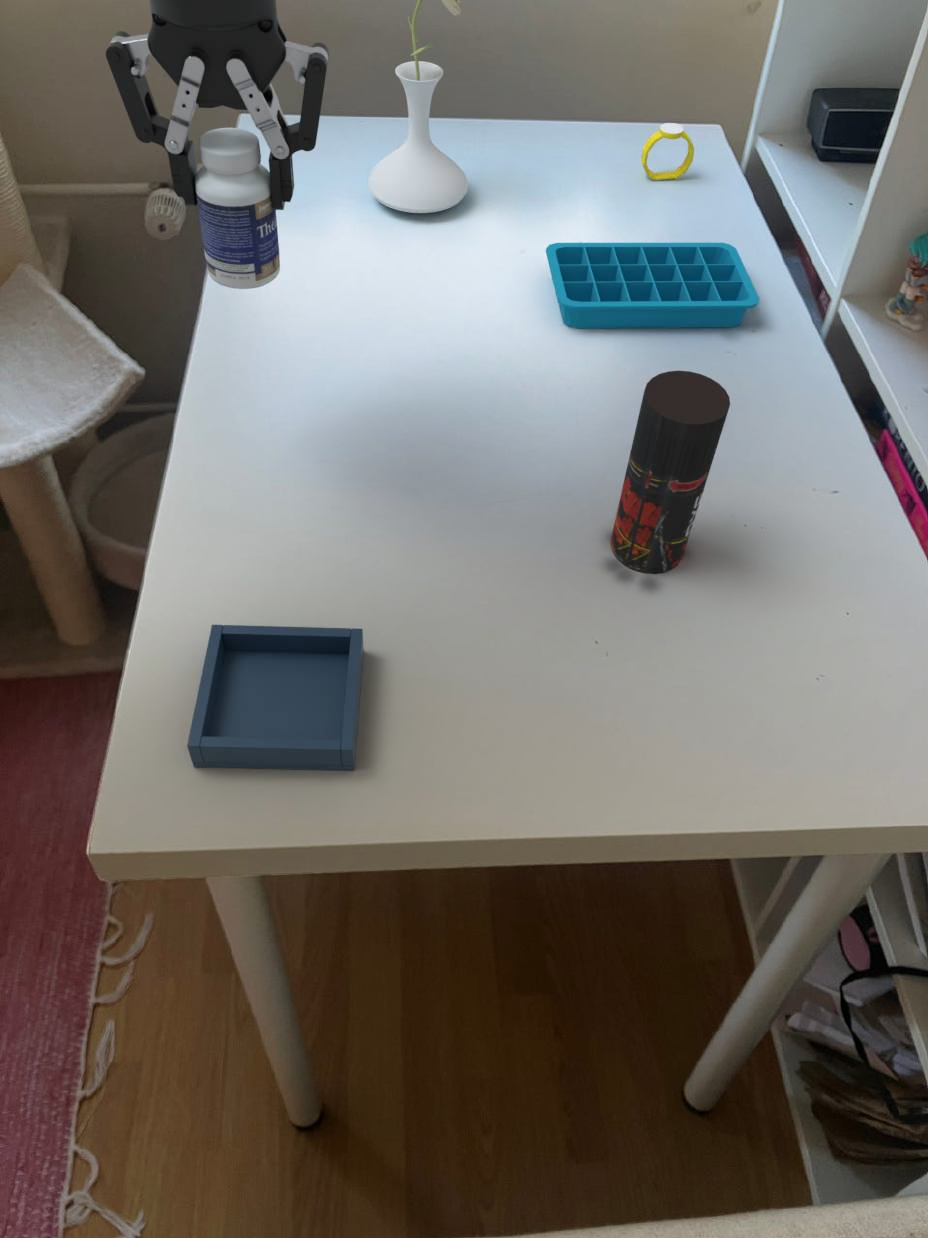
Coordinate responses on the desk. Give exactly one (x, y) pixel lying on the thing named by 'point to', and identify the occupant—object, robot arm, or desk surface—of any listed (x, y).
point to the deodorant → (668, 469)
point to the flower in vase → (419, 146)
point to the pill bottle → (236, 210)
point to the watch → (669, 133)
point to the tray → (278, 698)
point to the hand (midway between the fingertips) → (236, 201)
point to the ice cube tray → (650, 284)
